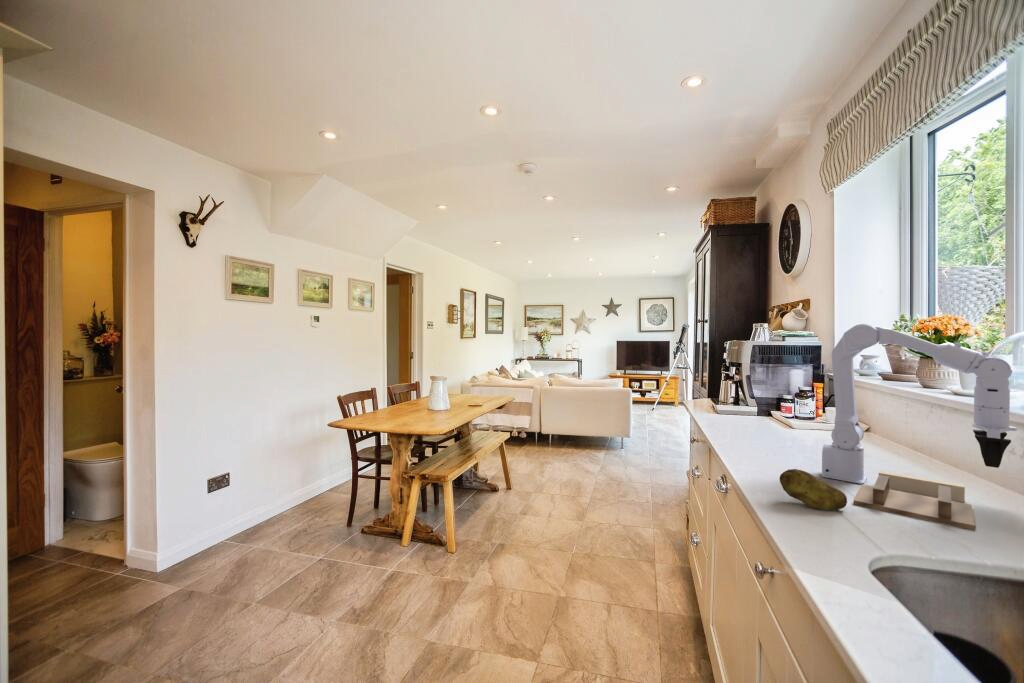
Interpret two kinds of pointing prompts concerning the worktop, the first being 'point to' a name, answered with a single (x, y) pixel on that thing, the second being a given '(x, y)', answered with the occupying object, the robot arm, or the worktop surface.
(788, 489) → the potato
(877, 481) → the wooden board stand
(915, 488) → the clay bar
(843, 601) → the worktop surface
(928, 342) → the robot arm
